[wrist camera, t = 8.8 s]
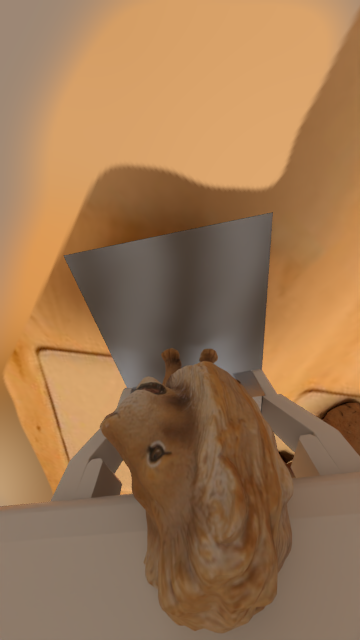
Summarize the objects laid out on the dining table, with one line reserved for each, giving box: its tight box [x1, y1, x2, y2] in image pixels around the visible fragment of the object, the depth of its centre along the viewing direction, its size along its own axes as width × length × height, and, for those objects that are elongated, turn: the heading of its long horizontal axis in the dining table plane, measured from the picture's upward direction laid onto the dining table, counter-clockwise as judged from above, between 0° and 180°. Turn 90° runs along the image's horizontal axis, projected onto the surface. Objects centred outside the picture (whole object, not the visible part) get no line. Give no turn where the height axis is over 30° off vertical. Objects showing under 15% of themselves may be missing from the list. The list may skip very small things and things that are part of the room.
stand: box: [64, 212, 273, 388], centre depth 16 cm, size 14×16×8 cm
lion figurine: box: [100, 348, 294, 633], centre depth 9 cm, size 15×5×9 cm, turn 173°
